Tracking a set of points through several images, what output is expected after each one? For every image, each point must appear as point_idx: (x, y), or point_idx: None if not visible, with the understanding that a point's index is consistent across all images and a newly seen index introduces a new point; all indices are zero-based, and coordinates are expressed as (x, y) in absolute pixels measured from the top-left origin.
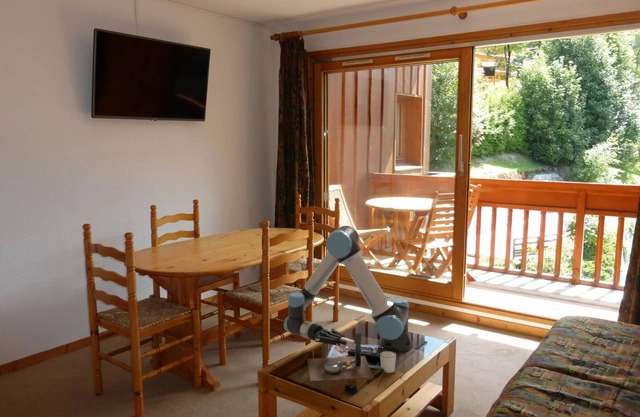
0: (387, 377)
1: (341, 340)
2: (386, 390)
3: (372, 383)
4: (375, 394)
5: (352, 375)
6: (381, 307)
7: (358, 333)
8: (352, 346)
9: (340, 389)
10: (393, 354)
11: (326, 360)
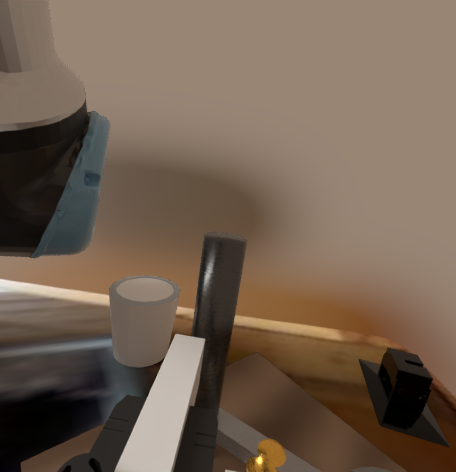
0: None
1: (193, 467)
2: (276, 327)
3: (272, 363)
4: (318, 342)
5: (309, 424)
6: (56, 54)
7: (219, 236)
8: (199, 376)
9: (422, 447)
10: (138, 279)
11: None
